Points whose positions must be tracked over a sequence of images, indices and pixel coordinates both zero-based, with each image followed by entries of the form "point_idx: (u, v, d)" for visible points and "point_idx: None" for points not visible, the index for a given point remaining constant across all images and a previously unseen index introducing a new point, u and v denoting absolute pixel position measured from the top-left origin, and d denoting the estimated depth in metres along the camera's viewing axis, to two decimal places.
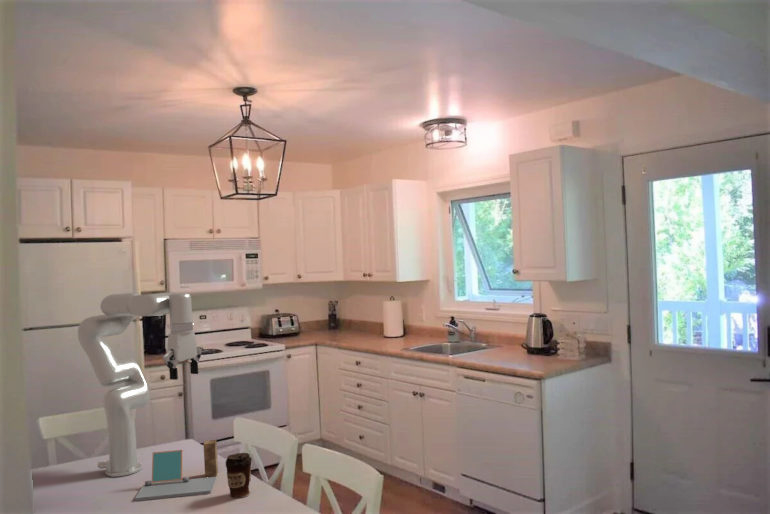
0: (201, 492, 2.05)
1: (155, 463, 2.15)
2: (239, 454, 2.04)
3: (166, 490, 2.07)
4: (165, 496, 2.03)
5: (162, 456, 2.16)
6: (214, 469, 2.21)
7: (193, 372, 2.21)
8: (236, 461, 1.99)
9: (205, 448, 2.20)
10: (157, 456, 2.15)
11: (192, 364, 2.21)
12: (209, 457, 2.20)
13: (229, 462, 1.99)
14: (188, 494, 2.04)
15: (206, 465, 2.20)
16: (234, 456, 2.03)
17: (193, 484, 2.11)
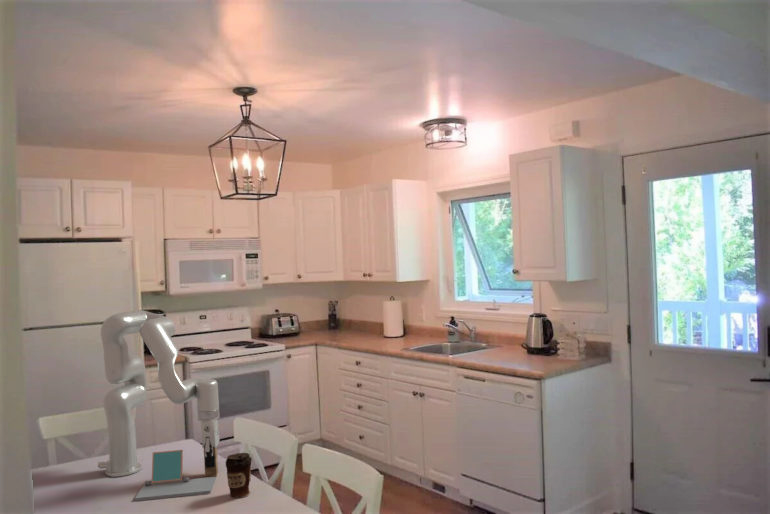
0: (201, 492, 2.05)
1: (155, 463, 2.15)
2: (239, 454, 2.04)
3: (166, 490, 2.07)
4: (165, 496, 2.03)
5: (162, 456, 2.16)
6: (214, 469, 2.21)
7: None
8: (236, 461, 1.99)
9: None
10: (157, 456, 2.15)
11: None
12: None
13: (229, 462, 1.99)
14: (188, 494, 2.04)
15: None
16: (234, 456, 2.03)
17: (193, 484, 2.11)
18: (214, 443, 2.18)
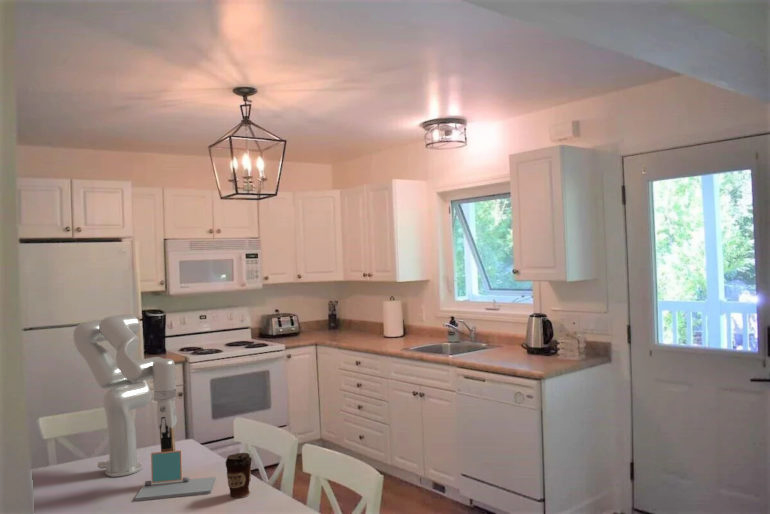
0: (201, 492, 2.05)
1: (154, 464, 2.13)
2: (239, 454, 2.04)
3: (166, 490, 2.07)
4: (165, 496, 2.03)
5: (161, 457, 2.14)
6: (171, 450, 2.16)
7: None
8: (236, 461, 1.99)
9: None
10: (156, 457, 2.14)
11: None
12: None
13: (229, 462, 1.99)
14: (188, 494, 2.04)
15: None
16: (234, 456, 2.03)
17: (193, 484, 2.11)
18: (170, 424, 2.13)
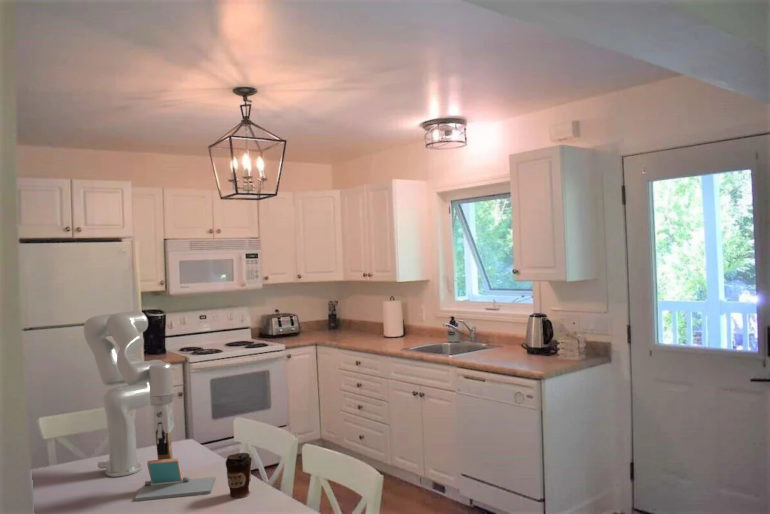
0: (201, 492, 2.05)
1: (152, 471, 2.10)
2: (239, 454, 2.04)
3: (166, 490, 2.07)
4: (165, 496, 2.03)
5: (158, 466, 2.09)
6: (168, 456, 2.11)
7: None
8: (236, 461, 1.99)
9: None
10: (153, 466, 2.08)
11: None
12: None
13: (229, 462, 1.99)
14: (188, 494, 2.04)
15: None
16: (234, 456, 2.03)
17: (193, 484, 2.11)
18: (167, 429, 2.07)
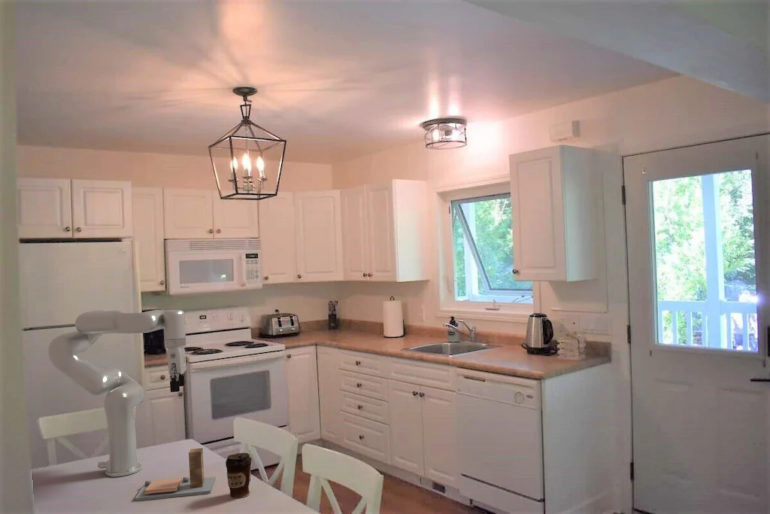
0: (201, 492, 2.05)
1: None
2: (239, 454, 2.04)
3: None
4: (165, 496, 2.03)
5: None
6: (200, 479, 2.09)
7: None
8: (236, 461, 1.99)
9: (190, 457, 2.08)
10: None
11: None
12: (194, 466, 2.08)
13: (229, 462, 1.99)
14: (188, 494, 2.04)
15: (191, 475, 2.08)
16: (234, 456, 2.03)
17: None
18: (180, 369, 2.25)
